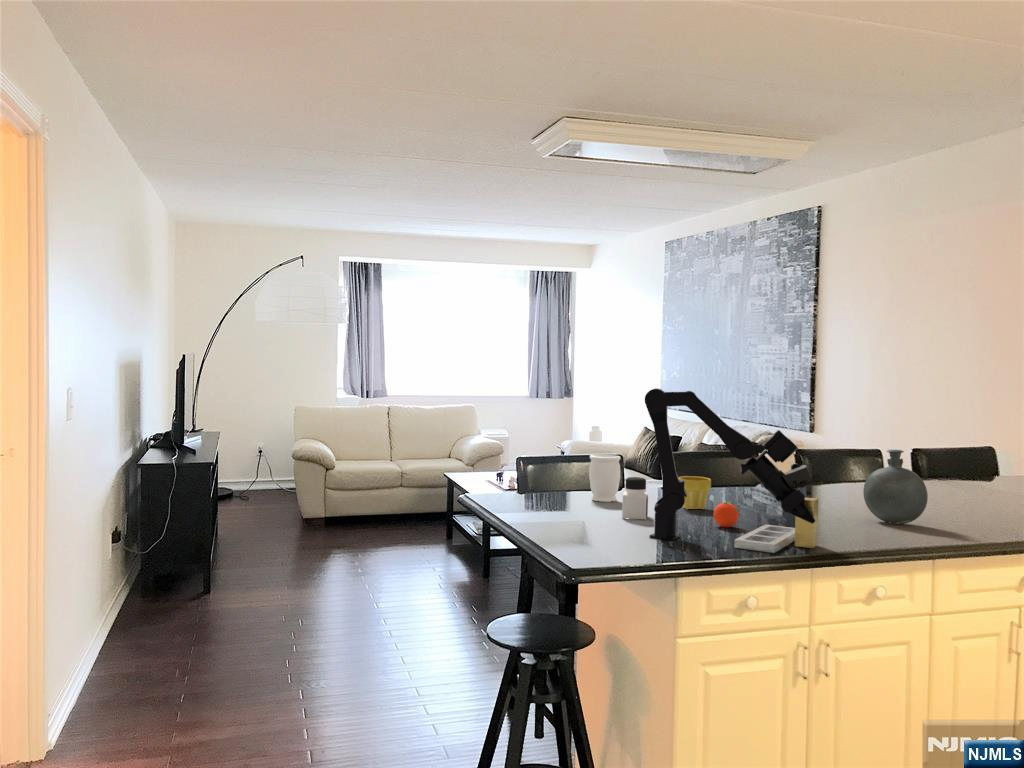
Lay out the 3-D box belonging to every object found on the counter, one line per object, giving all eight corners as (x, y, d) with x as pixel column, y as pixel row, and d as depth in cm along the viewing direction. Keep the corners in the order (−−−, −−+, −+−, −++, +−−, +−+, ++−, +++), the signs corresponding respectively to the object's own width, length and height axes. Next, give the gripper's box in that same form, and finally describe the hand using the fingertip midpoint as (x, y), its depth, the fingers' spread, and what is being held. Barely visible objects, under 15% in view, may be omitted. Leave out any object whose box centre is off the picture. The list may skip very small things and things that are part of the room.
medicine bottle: (646, 520, 250) (647, 479, 249) (622, 519, 251) (622, 478, 251) (647, 516, 257) (648, 476, 256) (623, 514, 258) (624, 475, 258)
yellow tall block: (812, 548, 215) (814, 500, 215) (794, 545, 217) (795, 499, 217) (817, 545, 219) (818, 498, 218) (799, 543, 221) (800, 497, 221)
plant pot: (717, 510, 269) (717, 479, 269) (689, 512, 265) (689, 480, 265) (698, 505, 279) (699, 475, 279) (671, 506, 275) (671, 476, 275)
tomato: (721, 523, 247) (722, 499, 247) (744, 526, 243) (744, 501, 242) (708, 527, 241) (709, 502, 241) (731, 530, 236) (732, 505, 236)
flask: (883, 517, 262) (885, 446, 262) (932, 527, 247) (934, 451, 246) (856, 520, 257) (858, 447, 256) (905, 530, 242) (907, 453, 241)
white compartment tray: (774, 553, 208) (774, 544, 208) (734, 547, 214) (734, 539, 214) (802, 536, 230) (802, 528, 230) (765, 531, 236) (765, 524, 236)
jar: (582, 498, 288) (583, 454, 287) (609, 497, 292) (610, 453, 292) (599, 503, 278) (599, 457, 278) (625, 502, 283) (626, 457, 282)
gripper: (796, 457, 209) (842, 504, 207) (788, 450, 227) (830, 493, 225) (762, 488, 211) (808, 535, 209) (756, 478, 229) (798, 521, 227)
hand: (812, 520), depth 217 cm, fingers closed on yellow tall block, 6 cm apart
